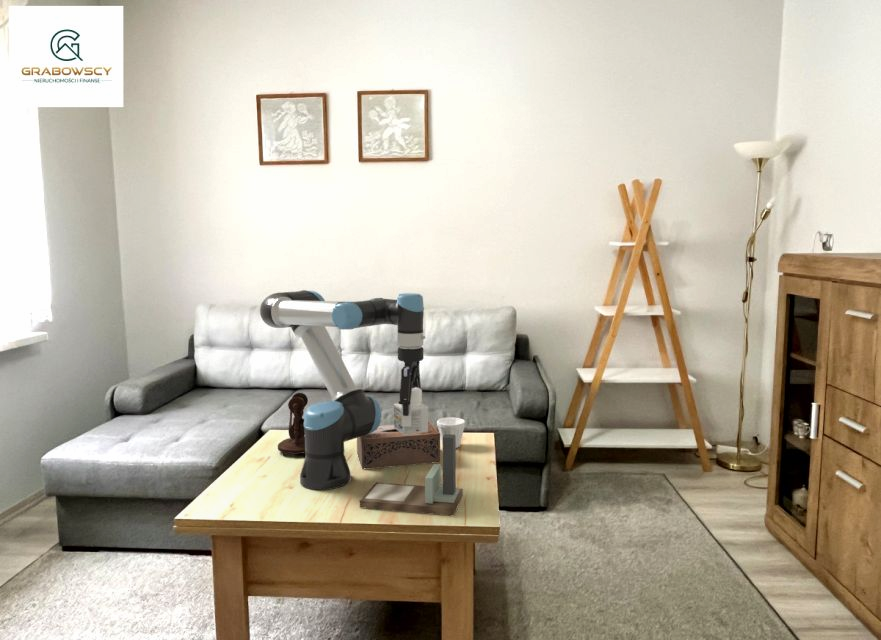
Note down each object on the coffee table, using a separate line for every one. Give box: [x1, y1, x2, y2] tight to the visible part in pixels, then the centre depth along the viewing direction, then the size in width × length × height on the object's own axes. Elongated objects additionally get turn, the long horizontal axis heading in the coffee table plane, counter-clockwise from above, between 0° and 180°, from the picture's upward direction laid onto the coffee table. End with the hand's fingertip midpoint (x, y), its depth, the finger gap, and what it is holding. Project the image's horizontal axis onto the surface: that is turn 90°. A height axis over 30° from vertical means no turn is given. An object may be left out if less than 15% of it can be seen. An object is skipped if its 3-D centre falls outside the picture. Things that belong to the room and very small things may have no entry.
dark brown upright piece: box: [277, 392, 309, 457], centre depth 220 cm, size 15×15×20 cm
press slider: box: [424, 434, 460, 504], centre depth 174 cm, size 8×11×17 cm
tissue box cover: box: [356, 421, 441, 470], centre depth 212 cm, size 26×14×10 cm, turn 104°
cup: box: [436, 417, 466, 449], centre depth 225 cm, size 10×10×9 cm
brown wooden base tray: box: [359, 481, 464, 516], centre depth 177 cm, size 26×14×2 cm, turn 78°
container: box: [393, 386, 429, 435], centre depth 187 cm, size 8×8×13 cm
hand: (410, 420), depth 187 cm, fingers closed on container, 10 cm apart
